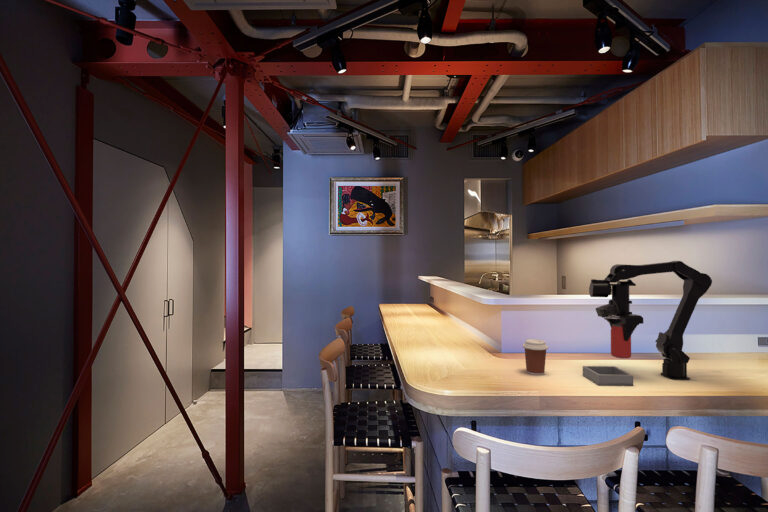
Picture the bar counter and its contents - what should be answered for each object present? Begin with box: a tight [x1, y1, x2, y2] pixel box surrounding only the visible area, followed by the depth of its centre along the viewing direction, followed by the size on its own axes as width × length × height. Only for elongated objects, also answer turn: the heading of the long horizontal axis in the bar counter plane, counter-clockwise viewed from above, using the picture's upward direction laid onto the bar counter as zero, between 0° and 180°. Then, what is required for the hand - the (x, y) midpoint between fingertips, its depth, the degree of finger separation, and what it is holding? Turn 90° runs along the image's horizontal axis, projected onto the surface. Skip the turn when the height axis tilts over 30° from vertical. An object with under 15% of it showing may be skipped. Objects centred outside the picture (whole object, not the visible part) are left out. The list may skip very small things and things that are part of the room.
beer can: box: [610, 324, 632, 359], centre depth 149 cm, size 7×7×12 cm
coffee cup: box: [522, 338, 549, 376], centre depth 150 cm, size 9×9×12 cm
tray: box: [582, 365, 634, 387], centre depth 140 cm, size 12×12×4 cm
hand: (620, 339), depth 149 cm, fingers closed on beer can, 6 cm apart
